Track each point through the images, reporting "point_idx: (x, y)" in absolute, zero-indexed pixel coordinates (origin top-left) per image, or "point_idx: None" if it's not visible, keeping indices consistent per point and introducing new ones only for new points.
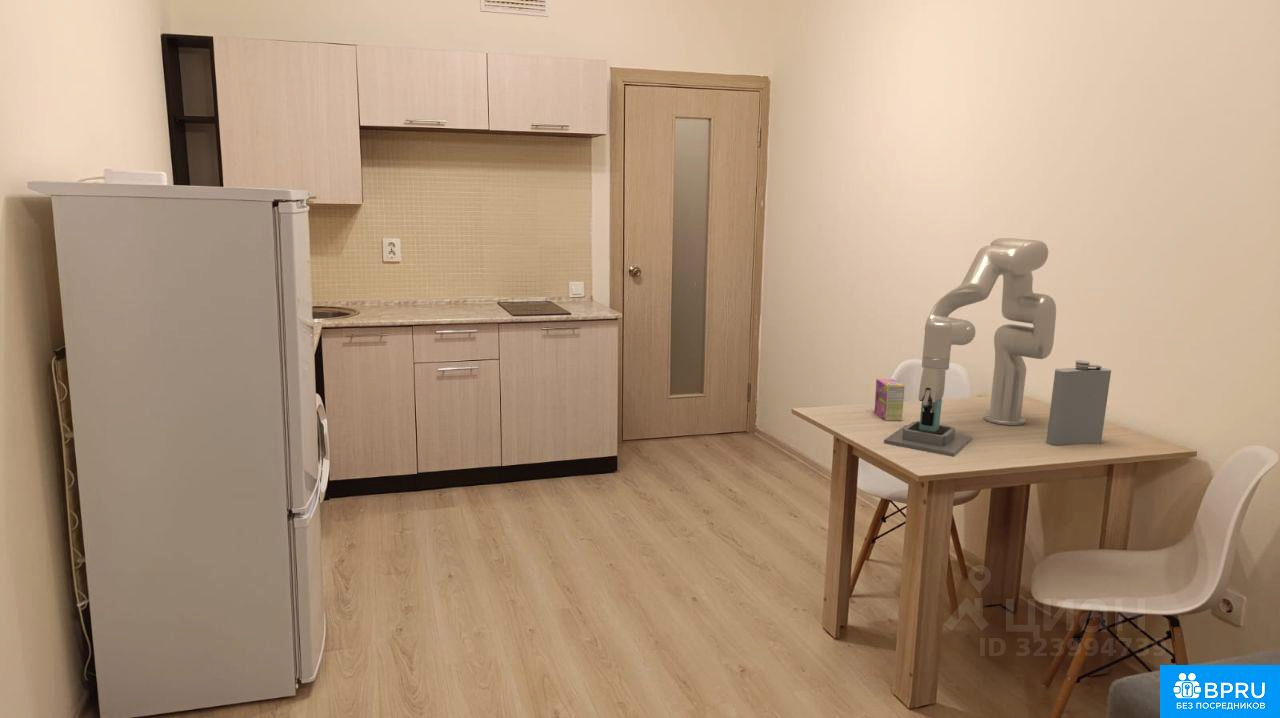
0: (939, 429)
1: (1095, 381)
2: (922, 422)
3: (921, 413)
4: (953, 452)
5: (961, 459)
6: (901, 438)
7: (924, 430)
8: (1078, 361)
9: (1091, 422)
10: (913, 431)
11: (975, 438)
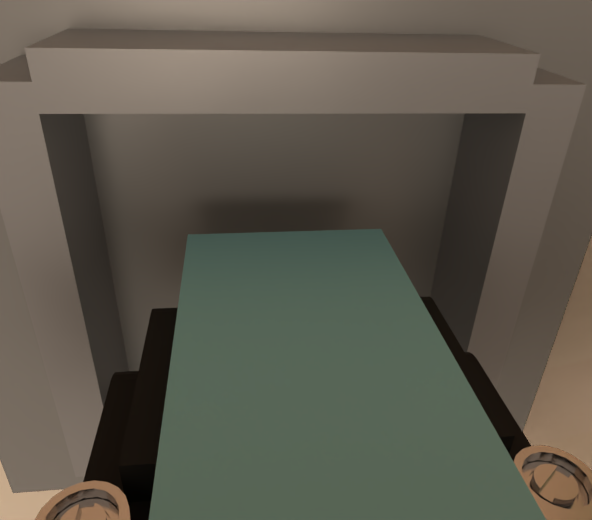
0: (452, 328)
1: None
2: (150, 333)
3: (167, 396)
4: (23, 488)
5: (5, 510)
6: (54, 21)
7: (464, 177)
8: None
9: None
10: (8, 217)
11: (557, 438)
